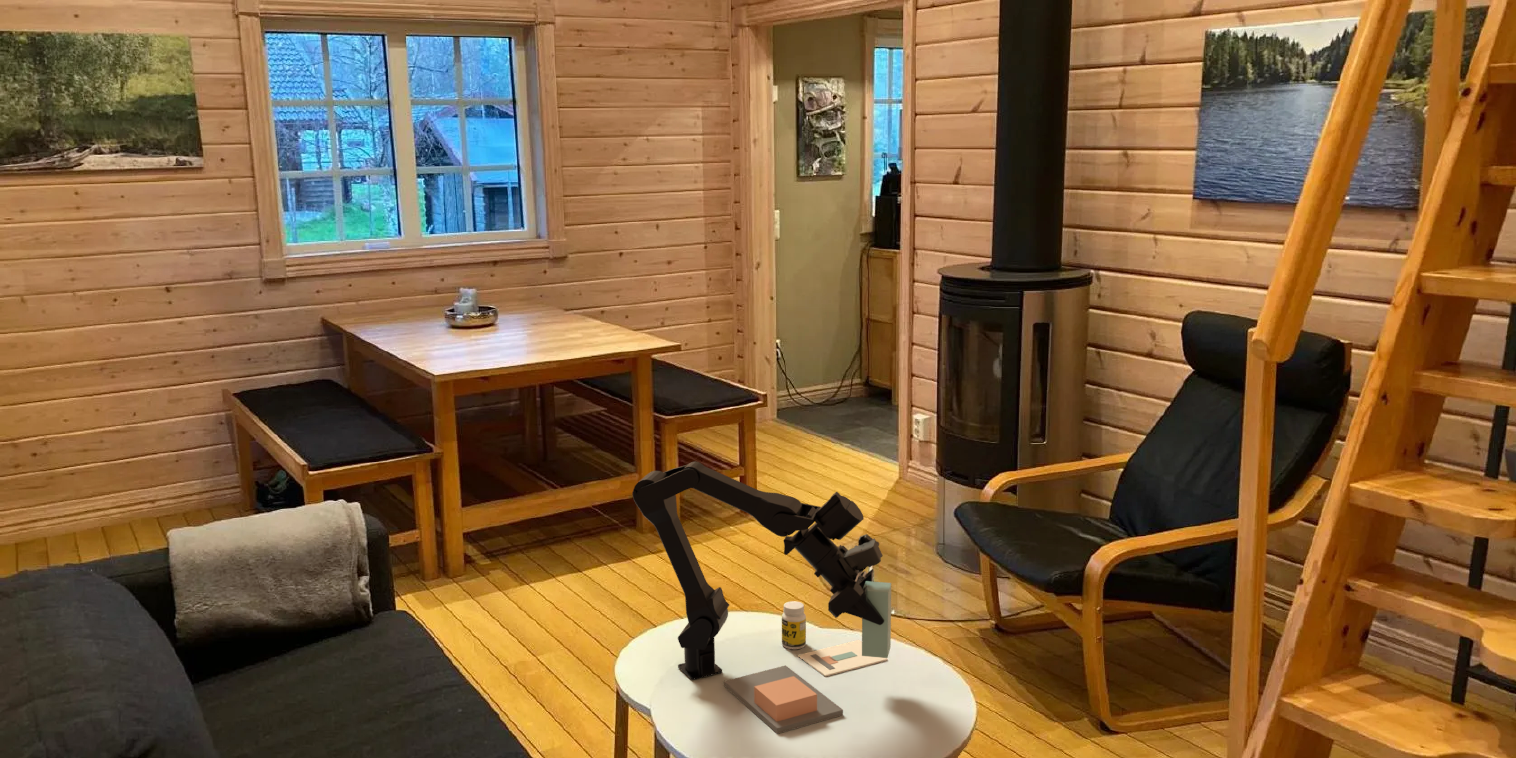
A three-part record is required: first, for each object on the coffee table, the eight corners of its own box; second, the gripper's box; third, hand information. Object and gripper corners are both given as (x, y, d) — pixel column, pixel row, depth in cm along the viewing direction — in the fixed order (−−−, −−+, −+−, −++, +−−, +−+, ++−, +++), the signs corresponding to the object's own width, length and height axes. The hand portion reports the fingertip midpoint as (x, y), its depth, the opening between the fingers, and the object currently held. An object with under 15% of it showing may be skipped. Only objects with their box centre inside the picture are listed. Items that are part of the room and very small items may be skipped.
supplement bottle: (777, 646, 226) (776, 606, 225) (790, 637, 230) (789, 598, 228) (797, 652, 224) (797, 611, 222) (810, 643, 227) (810, 603, 226)
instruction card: (797, 656, 222) (797, 654, 221) (858, 641, 228) (858, 639, 228) (825, 676, 213) (825, 674, 213) (887, 660, 219) (887, 658, 219)
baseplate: (723, 686, 210) (723, 665, 209) (785, 670, 216) (785, 650, 215) (777, 733, 192) (777, 711, 192) (842, 714, 198) (842, 693, 198)
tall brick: (861, 655, 206) (862, 590, 203) (865, 645, 210) (865, 581, 208) (887, 658, 205) (888, 592, 202) (890, 647, 209) (891, 582, 207)
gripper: (847, 544, 195) (911, 610, 194) (862, 510, 212) (921, 571, 212) (801, 584, 198) (864, 650, 198) (820, 548, 216) (878, 608, 216)
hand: (884, 617), depth 206 cm, fingers closed on tall brick, 5 cm apart
